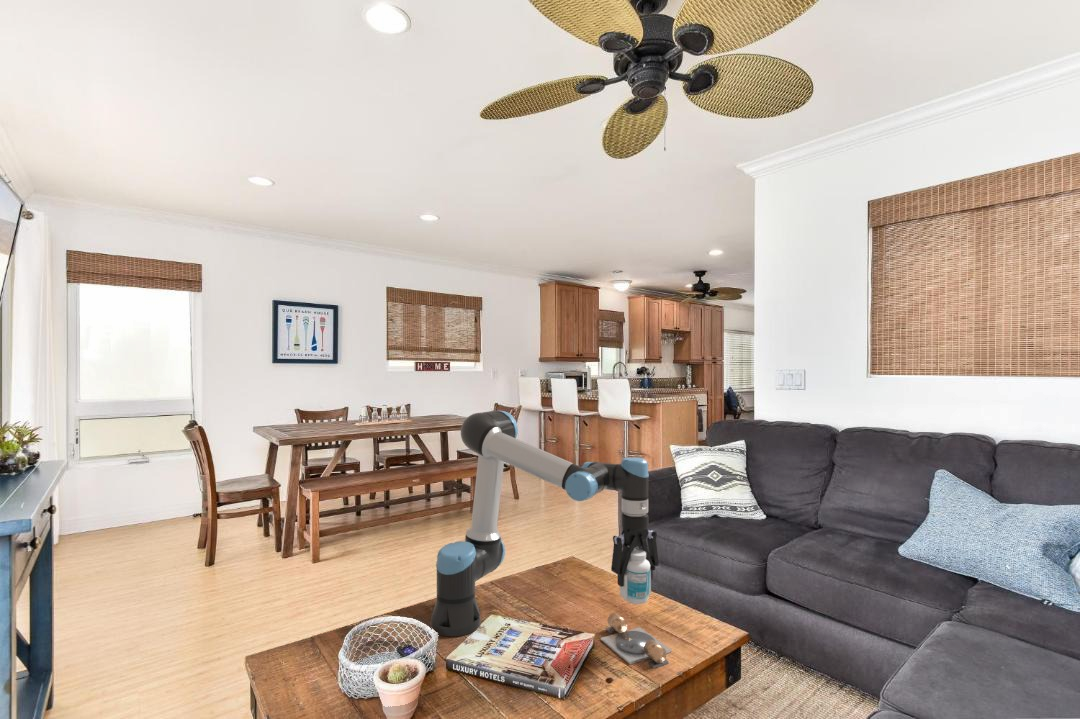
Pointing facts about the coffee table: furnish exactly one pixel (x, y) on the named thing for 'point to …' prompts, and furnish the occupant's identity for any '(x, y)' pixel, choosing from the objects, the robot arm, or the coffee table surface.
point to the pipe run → (634, 643)
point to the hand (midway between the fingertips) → (635, 594)
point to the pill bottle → (638, 577)
